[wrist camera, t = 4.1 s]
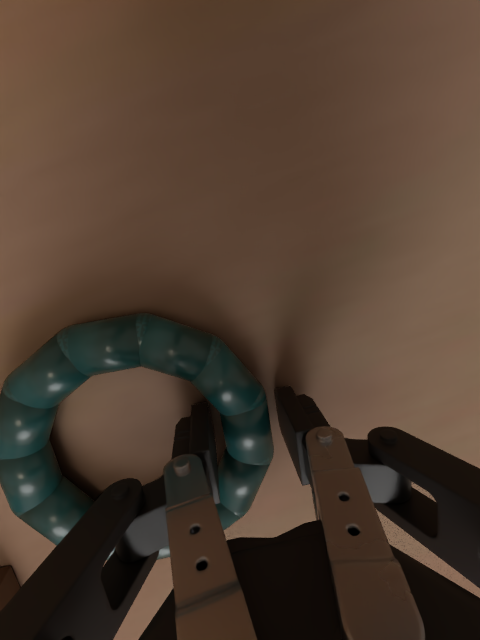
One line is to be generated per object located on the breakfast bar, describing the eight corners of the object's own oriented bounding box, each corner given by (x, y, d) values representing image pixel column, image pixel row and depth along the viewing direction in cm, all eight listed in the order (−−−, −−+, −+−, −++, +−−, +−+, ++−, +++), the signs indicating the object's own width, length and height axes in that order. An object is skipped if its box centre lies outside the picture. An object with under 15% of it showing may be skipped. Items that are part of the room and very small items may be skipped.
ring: (-31, 338, 13) (-70, 356, 11) (247, 289, 14) (254, 299, 12) (54, 555, 16) (34, 598, 14) (280, 506, 17) (290, 541, 15)
